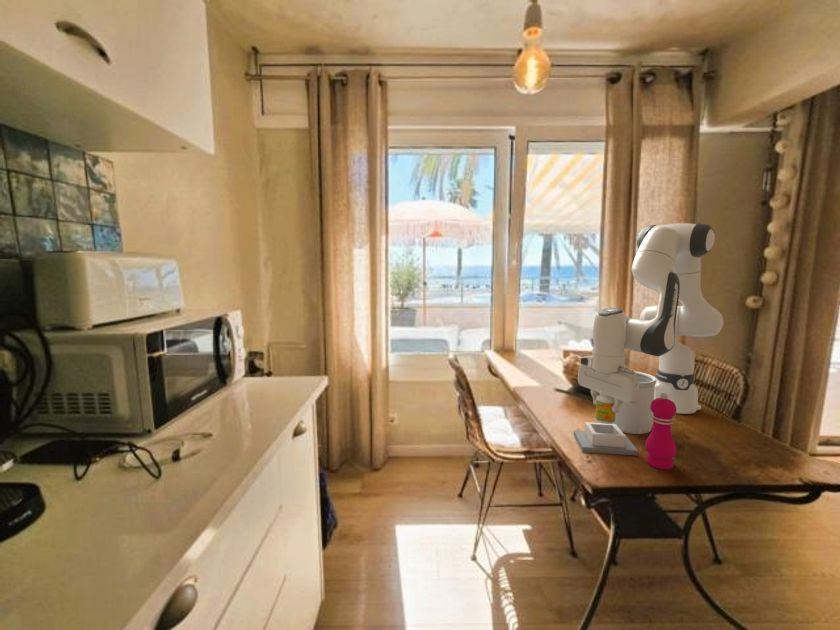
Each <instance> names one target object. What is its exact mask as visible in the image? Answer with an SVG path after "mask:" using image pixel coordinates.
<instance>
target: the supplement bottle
mask: <svg viewBox="0 0 840 630" xmlns="http://www.w3.org/2000/svg"><path fill="white" fill-rule="evenodd" d="M614 404H615V402H614V398H613V397H610V396H607V395H605V393H604V391H602V390H600V391H599V393H598V396H597V397H596V405H595V415H594V416H595V417H594V418H595V421H596V422H597V423H604V424H613V423H614V422H615V413H614V412H612V411H611V406H612V405H613V406H614Z"/></svg>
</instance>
